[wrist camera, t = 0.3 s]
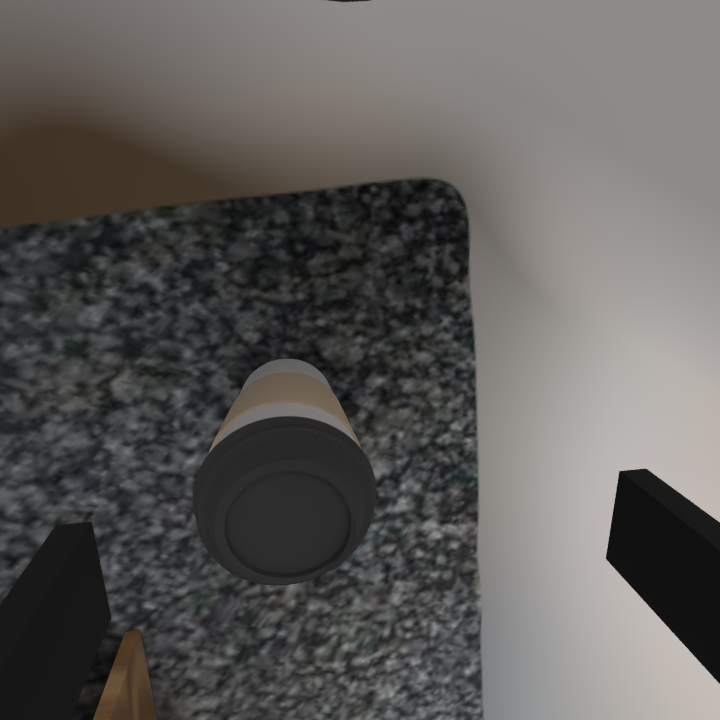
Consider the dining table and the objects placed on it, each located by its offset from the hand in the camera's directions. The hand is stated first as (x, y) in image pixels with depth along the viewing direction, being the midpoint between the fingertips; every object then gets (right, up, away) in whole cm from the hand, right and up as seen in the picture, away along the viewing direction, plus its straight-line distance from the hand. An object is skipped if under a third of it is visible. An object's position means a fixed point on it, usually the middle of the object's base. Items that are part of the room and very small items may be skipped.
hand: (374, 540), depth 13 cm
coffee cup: (-6, +1, +25) cm, 25 cm away
